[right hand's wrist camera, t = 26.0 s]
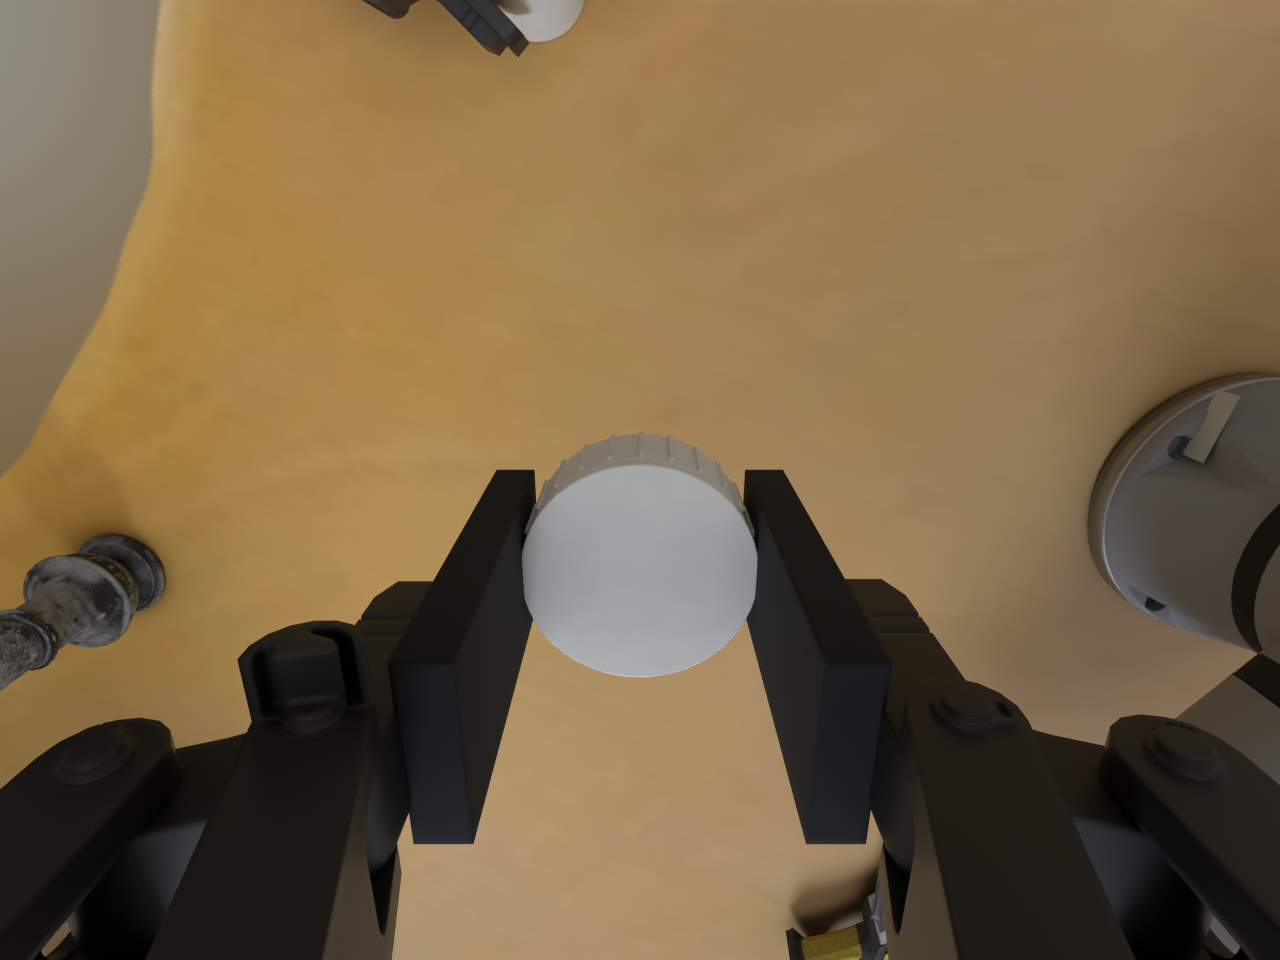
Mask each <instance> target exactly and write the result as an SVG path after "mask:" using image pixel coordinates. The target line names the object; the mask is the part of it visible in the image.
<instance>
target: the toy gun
mask: <svg viewBox="0 0 1280 960" xmlns="http://www.w3.org/2000/svg"><path fill="white" fill-rule="evenodd" d="M874 897H875V893H873V894H871V895H869V896H867V898H866V900H865V902H864V904H863V906H862V911H863V920H864V922H860V923H857V924H856V925H854V926H851V927H848V928H844V929H841V930H837V931H834V932H831V933H827V934H822V935H817V936H811V937H806V938H804V937H802V936H801V935H800V934H799V933H798V932H797V931H796V930H795V929H794V928H791V929H790V930H787V931H786V936H787V942H788V949H789V956H790V960H889V958H888V950H887V941H886V932H885V924H884V915H883V911H882V917H881V920H876V919H871V918H872V910H873V903H874Z"/></svg>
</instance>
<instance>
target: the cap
mask: <svg viewBox="0 0 1280 960" xmlns="http://www.w3.org/2000/svg"><path fill="white" fill-rule="evenodd" d="M525 534H527V536H526V539H525V541H524V545H523V550H522V567H523V582H524V597H525V601H526V604H527V607H528V609H529V611H530V613H531V615H532V617H533V619H534V621H535V623H536V624H537V625H538V627H539V628H540V629H541V631H542V632H543V634H544V635H545V636H546V637H547V638H548V639H549V640H550V641H551V642H552V643H553V644H554V645H555V646H556V647H557V648H559V649H560V650H561V651H562V652H564V653H565V654H566V655H568V656H569V657H571V658H573V659H574V660H576V661H577V662H580V663H582V664H584V665H586V666H588V667H590V668H593V669H596V670H599V671H602V672H605V673H610V674H614V675H619V676H628V677H651V676H660V675H665V674H670V673H674V672H678V671H681V670H683V669H686V668H689V667H692V666H694V665H696V664H698V663H700V662H702V661H704V660H705V659H707V658H708V657H710V656H711V655H713V654H715V653H716V652H717V651H718V650H720V649H721V648H722V647H723V646H724V645H726V644H727V643H728V642H729V640H730V639H731V638H732V637H733V636H734V635H735V634H736V633H737V631H738V630H739V629H740V627H741V626H742V624H743V623H744V622H745V620H746V618H747V616H748V614H749V612H750V610H751V608H752V605H753V602H754V599H755V590H756V575H757V558H758V552H757V548H756V544H755V540H754V537H755V531H754V528H753V526H752V523H751V520H750V518H749V515H748V512H747V509H746V507H745V505H743V502H742V499H741V497H740V494H739V491H738V488H737V486H736V484H735V482H733V483H731V481H730V480H729V478H728V477H727V476H726V475H725V473H724V472H723V471H722V469H721V466H720V464H719V463H718V462H716V463H714V462H713V461H712V460H711V459H710V458H708V457H707V456H706V455H704V454H703V453H702V452H700V451H699V450H698V447H696V446H694V447H691V446H689V445H687V444H684V443H682V442H679V441H677V440H674V439H672V436H667V438H666V437H662V436H655V435H643V432H639V435H625V436H617V437H615V435H611V436H610V439H606V440H603V441H600V442H598V443H595V444H593V445H590V446H588V444H587V445H585V446H584V448H583V450H581V451H580V452H578V453H576V454H575V455H574V456H572V457H571V458H570V459H569V460H567V461H566V460H563V461H562V462H561V465H560V468H559V469H558V470H557V471H556V472H555V474H554V475H553V476H552V478H551V479H550V480H549V481H548V480H546V481H545V483H544V486H543V488H542V491H541V494H540V497H539V499H538V502H537V503H535V504H534V507H533V510H532V512H531V515H530V518H529V521H528V523H527V526H526V529H525Z"/></svg>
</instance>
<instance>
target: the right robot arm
mask: <svg viewBox="0 0 1280 960" xmlns="http://www.w3.org/2000/svg"><path fill="white" fill-rule="evenodd" d="M535 503H536V490H535V472H534V470H496V472H495V474H494V476H493V477H492V479H491V481H490V483H489V484H488V486H487V488H486V490H485V491H484V493H483V495H482V497H481V498H480V500H479V502H478V504H477V505H476V507H475V509H474V511H473V512H472V514H471V516H470V518H469V519H468V521H467V523H466V525H465V526H464V528H463V530H462V532H461V533H460V535H459V537H458V539H457V540H456V542H455V544H454V546H453V547H452V549H451V551H450V553H449V555H448V556H447V558H446V560H445V562H444V563H443V565H442V567H441V569H440V570H439V572H438V574H437V576H436V577H435V579H434V581H398V582H397V583H395V584H394V585H392V586H391V587H389V588H388V589H386V590H385V591H383V592H382V593H380V594H379V595H377V596H376V597H374V599H373V600H372V602H371V603H370V604H369V606H368V607H367V609H366V610H365V612H364V613H363V614H362V616H361V620H358V622H357V623H356V624H355V626H354V625H352V624H348V623H344V622H340V621H311V622H306V623H301V624H296V625H291V626H288V627H286V628H283V629H280V630H278V631H275V632H273V633H270V634H268V635H266V636H264V637H263V638H261V639H260V640H258V641H256V642H255V643H253V644H252V645H250V646H249V647H248V648H247V649H246V650H245V651H244V652H243V654H242V655H241V656H240V657H239V658H238V659H237V660H238V664H239V668H240V673H241V677H242V681H243V686H244V690H245V694H246V698H247V703H248V707H249V711H250V715H251V720H252V722H251V724H250V727H249V729H248V731H247V733H244V734H241V735H237V736H234V737H230V738H226V739H221V740H216V741H212V742H207V743H202V744H197V745H193V746H188V747H183V748H178V749H175V746H174V742H173V739H172V735H171V732H170V729H168V728H167V727H166V726H165V725H164V724H163V723H161V722H160V721H157V720H151V719H145V718H133V719H124V720H115V721H111V722H107V723H103V724H102V725H100V724H99V725H96V726H93V727H90V728H87V729H85V730H83V731H82V732H79V733H77V734H75V735H73V736H71V737H69V738H67V739H65V740H62V741H60V742H59V743H57V744H56V745H54V746H53V747H52V748H50V749H49V750H47V751H46V752H44V753H43V754H42V755H40V756H39V757H37V758H36V759H35V760H34V761H32V762H31V763H30V764H29V765H28V766H27V767H26V768H24V769H23V770H22V771H21V772H20V773H19V774H17V775H16V776H15V777H14V778H13V779H12V780H11V781H9V782H8V783H7V784H6V785H5V786H4V787H2V788H1V789H0V960H392V951H393V943H394V934H395V925H396V917H397V908H398V899H399V890H400V882H401V866H400V859H399V852H398V846H397V841H398V839H399V836H400V834H401V831H402V829H403V826H404V823H405V821H406V818H407V816H408V813H409V815H410V822H411V829H412V835H413V842H414V844H473V843H474V840H475V836H476V832H477V828H478V825H479V821H480V817H481V813H482V810H483V806H484V802H485V798H486V794H487V791H488V787H489V783H490V779H491V776H492V772H493V768H494V764H495V761H496V757H497V753H498V749H499V746H500V742H501V738H502V734H503V731H504V727H505V723H506V719H507V715H508V712H509V708H510V704H511V700H512V697H513V693H514V689H515V685H516V682H517V678H518V674H519V670H520V667H521V663H522V659H523V655H524V652H525V648H526V644H527V640H528V636H529V633H530V629H531V625H532V621H533V617H532V615H531V613H530V611H529V609H528V607H527V604H526V601H525V597H524V582H523V567H522V550H523V545H524V541H525V539H526V536H527V534H525V529H526V526H527V523H528V521H529V518H530V515H531V512H532V510H533V507H534V504H535ZM743 505H745V507H746V509H747V512H748V515H749V518H750V520H751V523H752V526H753V528H754V531H755V537H754V540H755V544H756V548H757V552H758V558H757V575H756V590H755V599H754V602H753V605H752V608H751V610H750V612H749V614H748V616H747V618H746V619H747V623H748V627H749V631H750V634H751V638H752V642H753V646H754V649H755V653H756V657H757V661H758V665H759V668H760V672H761V676H762V680H763V683H764V687H765V691H766V695H767V698H768V702H769V706H770V710H771V713H772V717H773V721H774V725H775V728H776V732H777V736H778V740H779V744H780V747H781V751H782V755H783V759H784V762H785V766H786V770H787V774H788V777H789V781H790V785H791V789H792V792H793V796H794V800H795V804H796V808H797V811H798V815H799V819H800V823H801V826H802V830H803V834H804V838H805V841H806V844H866V839H867V832H868V825H869V819H870V812H871V811H872V813H873V816H874V818H875V821H876V824H877V826H878V829H879V831H880V834H881V836H882V839H883V846H882V852H881V859H880V865H879V871H878V878H877V884H876V890H875V897H874V903H873V910H872V918H871V919H876V920H881V917H882V911H883V915H884V924H885V932H886V941H887V950H888V958H889V960H1280V374H1274V373H1246V374H1238V375H1232V376H1227V377H1223V378H1219V379H1215V380H1212V381H1209V382H1206V383H1203V384H1201V385H1198V386H1196V387H1194V388H1191V389H1189V390H1187V391H1185V392H1183V393H1181V394H1179V395H1177V396H1175V397H1174V398H1172V399H1170V400H1169V401H1167V402H1166V403H1164V404H1163V405H1161V406H1160V407H1158V408H1157V409H1156V410H1154V411H1153V412H1152V413H1150V414H1149V415H1148V416H1147V417H1145V418H1144V419H1143V420H1142V421H1141V422H1140V423H1139V424H1137V425H1136V426H1135V427H1134V429H1133V430H1132V431H1131V432H1130V433H1129V434H1128V435H1127V436H1126V437H1125V438H1124V439H1123V441H1122V442H1121V443H1120V444H1119V445H1118V447H1117V448H1116V449H1115V451H1114V452H1113V454H1112V455H1111V456H1110V458H1109V460H1108V461H1107V463H1106V465H1105V467H1104V468H1103V470H1102V472H1101V474H1100V476H1099V479H1098V481H1097V483H1096V486H1095V489H1094V491H1093V495H1092V499H1091V502H1090V507H1089V514H1088V540H1089V546H1090V550H1091V553H1092V557H1093V560H1094V562H1095V564H1096V566H1097V568H1098V570H1099V572H1100V573H1101V575H1102V577H1103V578H1104V579H1105V580H1106V582H1107V583H1108V584H1109V585H1110V586H1111V587H1112V588H1113V589H1114V590H1115V591H1116V592H1117V593H1118V594H1120V595H1121V596H1122V597H1124V598H1125V599H1126V600H1127V601H1129V602H1130V603H1131V604H1133V605H1134V606H1135V607H1137V608H1138V609H1139V610H1141V611H1142V612H1144V613H1146V614H1147V615H1149V616H1151V617H1153V618H1155V619H1158V620H1160V621H1162V622H1164V623H1167V624H1169V625H1172V626H1175V627H1178V628H1181V629H1184V630H1187V631H1191V632H1194V633H1197V634H1200V635H1203V636H1206V637H1210V638H1213V639H1216V640H1219V641H1222V642H1226V643H1229V644H1232V645H1235V646H1238V647H1242V648H1245V649H1248V650H1251V651H1254V652H1256V653H1257V655H1256V656H1255V657H1253V658H1252V659H1251V660H1250V661H1248V662H1247V663H1246V664H1245V665H1243V666H1242V667H1241V668H1240V669H1238V670H1237V671H1236V672H1234V673H1233V674H1231V675H1230V676H1229V677H1228V678H1226V679H1225V680H1224V681H1222V682H1221V683H1220V684H1219V685H1217V686H1216V687H1215V688H1214V689H1212V690H1211V691H1210V692H1208V693H1207V694H1206V695H1205V696H1203V697H1202V698H1201V699H1200V700H1198V701H1197V702H1196V703H1194V704H1193V705H1192V706H1191V707H1189V708H1188V709H1187V710H1186V711H1184V712H1183V713H1182V714H1181V715H1179V716H1178V717H1177V718H1175V719H1171V718H1166V717H1159V716H1149V715H1140V714H1139V715H1134V716H1128V717H1122V718H1120V719H1119V720H1117V721H1116V722H1115V723H1114V724H1113V725H1112V726H1110V729H1109V733H1108V736H1107V740H1106V743H1105V746H1102V745H1098V744H1093V743H1088V742H1083V741H1078V740H1074V739H1069V738H1064V737H1059V736H1054V735H1050V734H1047V733H1043V732H1039V731H1036V730H1032V728H1031V725H1030V723H1029V721H1028V720H1027V718H1026V717H1025V715H1024V714H1023V713H1022V711H1021V710H1020V709H1019V707H1018V706H1017V705H1015V704H1014V703H1013V702H1011V701H1010V700H1009V699H1007V698H1006V697H1004V696H1003V695H1002V694H1000V693H999V692H996V691H994V690H992V689H989V688H987V687H985V686H983V685H980V684H978V683H974V682H970V681H966V680H965V679H964V677H963V676H962V674H961V673H960V672H959V670H958V669H957V667H956V666H955V665H954V663H953V662H952V660H951V659H950V657H949V656H948V655H947V653H946V652H945V650H944V649H943V648H942V646H941V645H940V643H939V642H938V640H937V639H936V638H935V636H934V635H933V633H930V632H929V628H928V626H927V625H926V623H925V622H924V621H923V619H922V618H921V617H919V616H918V612H917V611H916V609H915V608H914V606H913V605H912V604H911V602H910V601H909V599H908V598H907V597H906V595H905V594H903V593H902V592H900V591H899V590H897V589H896V588H894V587H893V586H891V585H890V584H888V583H887V582H885V581H884V580H882V579H845V578H844V576H843V575H842V573H841V571H840V569H839V568H838V566H837V564H836V562H835V561H834V559H833V557H832V555H831V554H830V552H829V550H828V548H827V547H826V545H825V543H824V541H823V540H822V538H821V536H820V534H819V533H818V531H817V529H816V527H815V526H814V524H813V522H812V520H811V519H810V517H809V515H808V513H807V511H806V510H805V508H804V506H803V504H802V503H801V501H800V499H799V497H798V496H797V494H796V492H795V490H794V489H793V487H792V485H791V483H790V482H789V480H788V478H787V476H786V475H785V473H784V471H783V470H745V482H744V500H743ZM66 920H67V923H68V925H69V928H70V930H71V931H70V932H69V934H68V935H67V936H66V937H65V938H64V940H63V941H62V942H61V943H60V944H59V946H57V947H56V948H55V949H54V950H53V951H52V952H51V953H50V954H48V955H47V956H46V957H45V956H44V955H43V954H42V952H41V949H42V948H43V947H44V946H45V945H46V943H47V942H48V941H49V940H50V939H51V938H52V936H53V935H54V934H55V933H56V932H57V930H58V929H59V928H60V927H61V926H62V925H63V923H64V922H65V921H66Z"/></svg>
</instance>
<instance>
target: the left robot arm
mask: <svg viewBox="0 0 1280 960" xmlns="http://www.w3.org/2000/svg"><path fill="white" fill-rule="evenodd" d="M363 1H364V2H366V3H368V4H369V5H371V6H373V7H374V8H376V9H378V10H379V11H381V12H382V13H384V14H386V15H387V16H389V17H391V18H394V19H399V18H402V17H404V16H405V15H406V14H407V12H408V10H409V6H410V5H412V4H414V3H415V2H417V1H419V0H363ZM437 1H438V2H440V3H441V4H442V5H443V6H444V7H445V8H446V9H447V10H448V11H449V12H450V13H451V14H452V15H453V16H454V17H455V18H456V19H457V20H458V21H459V22H460V23H461V24H462V25H463V26H464V27H465V29H466V30H467V31H468V32H469V33H470V34H471V35H472V36H473V37H474V38H475V39H476V40H477V41H478V42H479V43H480V44H481V45H482V46H483V47H484V48H485V49H486V50H487V51H489V52H492V53H494V54H496V55H498V56H500V55H501V53H502V52H503V51H504V49H505V48H506V47H507V46H508V47H509V49H510V50H511V51H512V52H513V53H514V54H515V55H516V56H517V57H519V56H520V55H521V53H522V52H523V51H524V49H525V48H526V47H527V46H528V44H529V42H528V41H527V39H526V37H525V36H524V34H523V33H522V32H521V31H520V30H519V29H518V27H517V26H516V25H515V24H514V23H513V22H512V21H511V20H510V19H509V18H508V17H507V16H506V15H505V14H504V13H503V12H502V11H501V10H500V8H499V7H498V6H497V5H496V4H495V3H494V2H493V1H492V0H437Z"/></svg>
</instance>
